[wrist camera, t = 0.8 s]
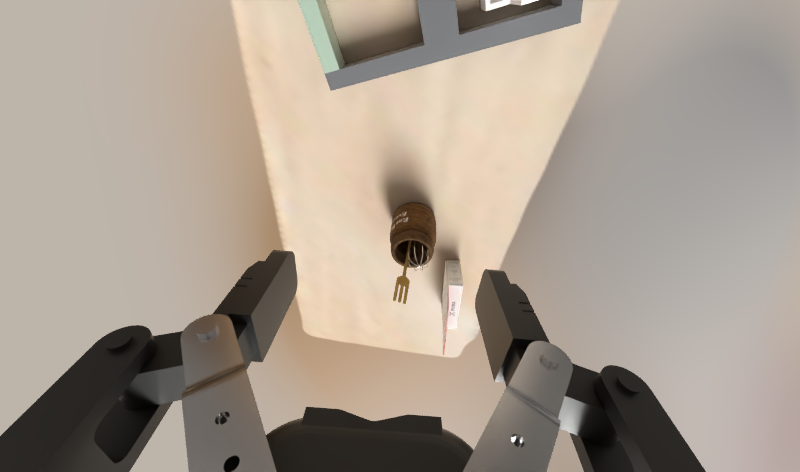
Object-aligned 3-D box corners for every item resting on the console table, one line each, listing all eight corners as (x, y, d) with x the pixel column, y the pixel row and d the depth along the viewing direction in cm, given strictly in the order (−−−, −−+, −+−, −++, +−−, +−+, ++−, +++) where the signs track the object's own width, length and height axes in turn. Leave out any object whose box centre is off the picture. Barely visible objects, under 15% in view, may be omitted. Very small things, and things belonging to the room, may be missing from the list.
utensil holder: (443, 209, 39) (447, 276, 30) (424, 242, 43) (422, 309, 34) (401, 194, 38) (393, 258, 29) (386, 229, 42) (374, 295, 33)
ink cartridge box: (460, 259, 45) (466, 312, 37) (454, 304, 52) (459, 356, 44) (444, 258, 45) (447, 312, 38) (440, 303, 52) (442, 355, 45)
